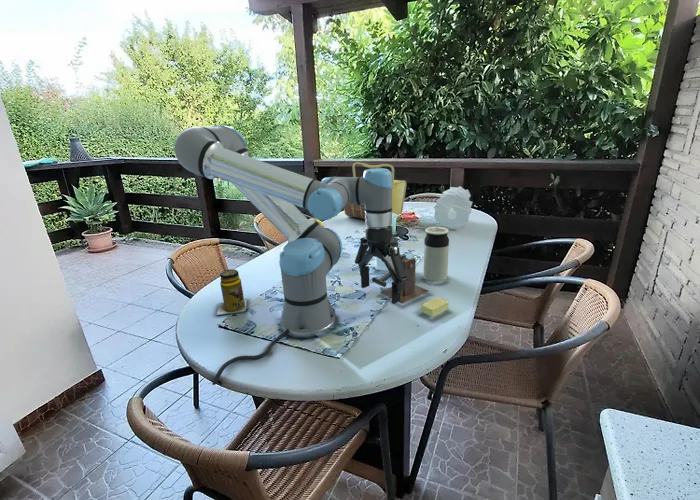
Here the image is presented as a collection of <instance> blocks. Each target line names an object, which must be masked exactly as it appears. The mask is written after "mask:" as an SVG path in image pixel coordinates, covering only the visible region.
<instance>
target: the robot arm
mask: <svg viewBox="0 0 700 500" xmlns="http://www.w3.org/2000/svg"><path fill="white" fill-rule="evenodd" d="M174 154H175V157H176V160H177V161H178V162H179V164H180V166H182V167H183V168H184V169H185V170H187V171H188V172H190V173H192V174H195V175H197V176H200V177H203V178H206V179H209V180H214V179H217V178H218V179H220V180H221V181H223V182H229V183H231V184H232V185H233V186H234V187H235V188H236V189H237V190H238V191H239V192H240V193H241V194H242V195H243V196H244V197H245V198H246V199H247V200H248V201H249V202H250V203H251V204H252V205H253V206H254V207H255V208H256V209H257V210H258V212H259V213H261V214H262V216H263V217H265V219H267V220H268V222H270V223H271V225H272V226H274V227H275V228H276V230H278V231H279V233H281V235H282V236H283V237H285V238H286V239H287V243H285V244H284V245H282V247H281V248H280V251H279V262H278V263H279V268H280V274H281V282H282V283H281V284H282V290H283V299H284V303H283V307H282V312H281V316H280V320H279V321H280V328H281V329H280V330H281V331H282V332H281V333H280V334H279V335H278V336H276V337H275V338H274V339H273V340H272V341H271V342H270V343H269V344H268V346H267V347H266V349H265V350H264V351H263V352H262V353H259V354H257V355H256V354H255V355H237V356H235V357H233V358H231V359H229V360H227V361H226V362H224V363H223V364H222V365H221V366H220V367H219V369H218V371H217V372H216V374H215V376H214V378H213V381H212V383H211V385H212V386H215V385H217V384H218V382H219V380H220V378H221V375H222V374H223V372H224V370H225V369H226V368H228V366H230V365H232V364H234V363H237V362H239V361H256V360H260V359H263V358H265V357H266V356H268V355H269V353H270V351H271V350H272V348H273V347H274V346H275V345H276V344H277V343H278V342H279V341H280V340H281V339H283V338H284V337H286V336H289V337H291V338H295V339H312V338H317V337H318V335H317V334H319V333H322V332H324V331H327V330H328V329H329V328H331V327H332V326H333V325H334V323H335V322H336V309H335V308H334V307H333V305H332V304H331V302H330V299H329V297H328V290H327V287H328V286H327V276H328V274H329V273H330V271H331V270H333V267H334V266H335V265H336V264H337V263H338V262H339V260H340V258H341V256H342V252H343V243H342V239H341V237H340V236H339V234H338V233H337V232H336V231H335V230H334V229H332V228H330V227H326V226H325V227H322V226H321V225H320V224H319V223H318V222H317V221H316V220H309V219H310V218H307V217H306V215H305V214H303V212H302V211H301V210H300V209H299V208H302V209H305V210H308V212H309V214H311V216H312V217H313V218H315V219H318V220H320V221H329V220H331V219H333V218H335V217H337V216H339V214H340V213H341V211H342V210H344V208H345V207H346V206H347V205H365V219H364V225H365V227H364V228H365V229H364V230H365V236H363V237H361V238H360V243H359V246H358V247H359V248H358V251H357V254H356V256H355V259H354V263H355V265H358V268H359V275H360V286H361V287H360V288H361V289H365V288H368V287H369V286H370V266H368V265H369V263H370V262H371V260H372V259H373V258H375V257H378V258H379V259H381V260H382V262H384V263H385V265H386V267H387V269H388V271H387V272H389V273H390V275H391V277H390V278H391V279H392V282H391V287H392V298H391V304H393V305H395V304H397V303H400V302H399V301H400V292H402V283H403V282H405V281H407V280H408V278H407V275H406V272H405V269H404V266H403V263H402V260H401V257H400V255H401V253H400V247H399V246H398V245H397V246H396V247H392V246H391V244H390V241H391V239H392V236H393V226H392V225H393V220H392V187H393V186H392V176H391V175H392V171H391V170H389V169H388V168H383V167H381V168H367V169H364V171H363V175H362V176H356V177H353V176H350V177H349V176H347V177H346V176H329V177H324V178H323V179H321V181H320V180H317V179H314V178H311V177H309V176H305V175H302V174H299V173H296V172H294V171H291V170H287V169H285V168H282V167H279V166H276V165H273V164H271V163H267V162H265V161H262V160H259V159H256V158H253V157H252V153H251V152H250V151H249V149H248V148H247V142H246V140H245V137H244V136H243V135H242V134H241V133H240V131H238V130H237V129H235V128H233V127H231V126H227V125H221V124H217V125H211V126H194V127H189V128H186V129H184V130H183V131H182V132H180V133H179V134H178V136H177V137H176V139H175V142H174ZM298 207H299V208H298ZM387 255H388V256H389V257H387ZM385 257H386V258H385ZM396 277H397V278H396Z"/></svg>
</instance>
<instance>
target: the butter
mask: <svg viewBox="0 0 700 500" xmlns="http://www.w3.org/2000/svg"><path fill="white" fill-rule="evenodd" d="M449 304H450V302H449V301H448V300H445V299H443V298H441V297H439V296H437V297H434V298H433V299H430V300H428V301H426V302H424V303H423V304H421V307H420V308H421V313H423V314H424V315H427V316H429V317H430V318H434V317H436V316H437V315H439V314H441V313H443V312H445V311H447V310H449V306H450V305H449Z"/></svg>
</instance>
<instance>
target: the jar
mask: <svg viewBox="0 0 700 500" xmlns="http://www.w3.org/2000/svg"><path fill="white" fill-rule="evenodd" d="M390 244H391V246H392V247H396V246H398V245H399V242H398V238H397V237H395V236H394V235H392V239H391V241H390ZM387 257H389V256H388V255H387ZM385 258H386V257H385ZM374 267H375V270H376V271H382V272H383V271H384V272H389V271H388V269H387V267H386V265H385V263H384V262H382V260H381V259H379V258H378V257H374Z"/></svg>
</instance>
